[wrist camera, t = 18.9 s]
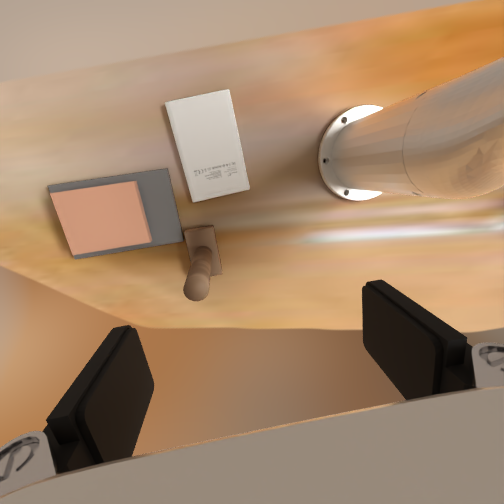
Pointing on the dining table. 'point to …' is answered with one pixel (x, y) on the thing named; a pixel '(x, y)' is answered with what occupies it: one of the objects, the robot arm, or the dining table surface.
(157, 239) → the mat
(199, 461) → the robot arm
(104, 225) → the tile
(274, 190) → the dining table surface
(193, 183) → the external hard drive
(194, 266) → the tool
